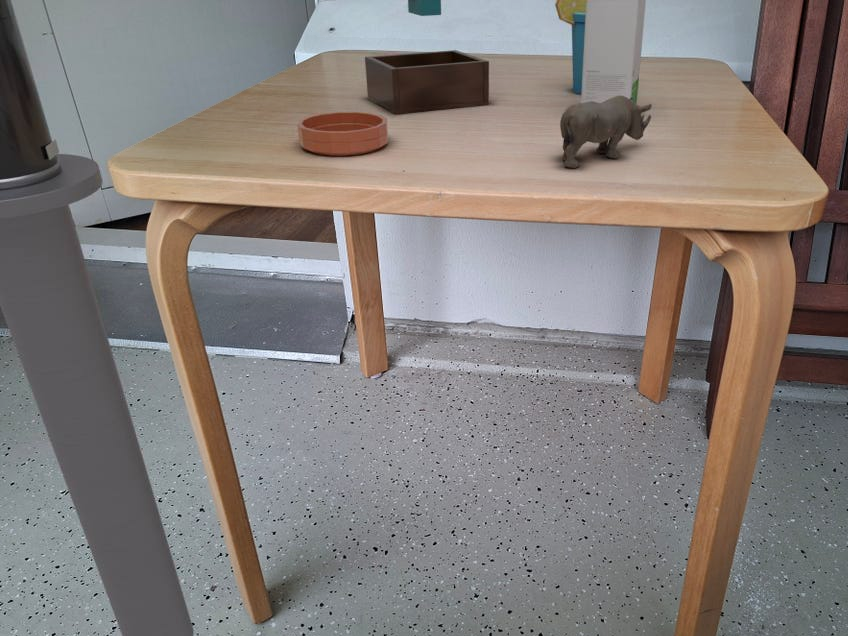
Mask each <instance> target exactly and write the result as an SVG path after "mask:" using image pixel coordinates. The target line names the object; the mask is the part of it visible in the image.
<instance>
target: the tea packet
mask: <svg viewBox="0 0 848 636" xmlns="http://www.w3.org/2000/svg"><path fill="white" fill-rule="evenodd" d="M407 10H408V11H407V12H408V13H409V14H413V15H417V16H420V17H429V16H431V17H432V16H441V15H442V0H407Z"/></svg>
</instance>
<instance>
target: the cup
mask: <svg viewBox="0 0 848 636" xmlns="http://www.w3.org/2000/svg"><path fill="white" fill-rule="evenodd" d="M555 9H556V12H557V16H558V19H559V20H561V21H562V22H565V23H566V24H568V25H571V51H572V52H571V53H572V55H571V56H572V91H573V92H574V93H575V94H578V95H581V93H582V74H583V55H584V36H585V17H586V0H556V2H555Z"/></svg>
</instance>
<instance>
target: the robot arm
mask: <svg viewBox="0 0 848 636" xmlns="http://www.w3.org/2000/svg"><path fill="white" fill-rule="evenodd" d="M27 53H28V52H27V49H26V46H25V43H24V39H23V35H22V32H21V29H20V25H19V23H18V19H17V16H16V11H15V9H14V6H13V1H12V0H0V190H5V189H13V188H19V187H24V186H28V185H33V184H36V183H40V182H43V181H46V180H48V179H51V178H53V177H55V176H56V175H58V174H59V173H60V172H61V170H62V169H61V165H60V162H59V159H58V158H57V156H56V155H57V154H60V149H59V146H58V143H57V140H56V139H54V140H53V139H52V136H51V135H52V134H51V132H50V128H49V125H48V122H47V119H46V115H45V111H44V108H43V105H42V101H41V98H40V94H39V91H38V87H37V83H36V80H35V77H34V73H33V70H32V66H31V64H30V60H29V56H28V54H27Z"/></svg>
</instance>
